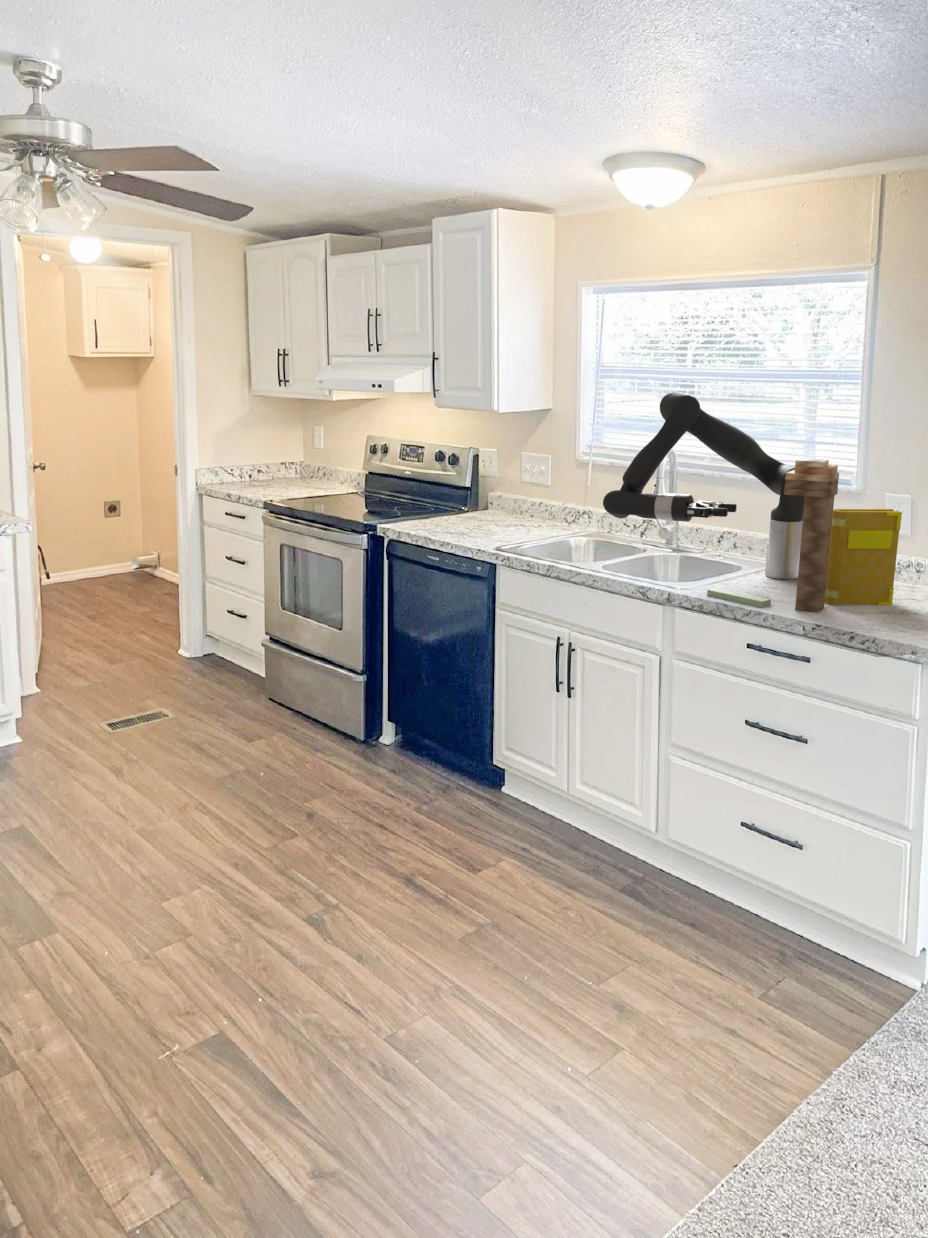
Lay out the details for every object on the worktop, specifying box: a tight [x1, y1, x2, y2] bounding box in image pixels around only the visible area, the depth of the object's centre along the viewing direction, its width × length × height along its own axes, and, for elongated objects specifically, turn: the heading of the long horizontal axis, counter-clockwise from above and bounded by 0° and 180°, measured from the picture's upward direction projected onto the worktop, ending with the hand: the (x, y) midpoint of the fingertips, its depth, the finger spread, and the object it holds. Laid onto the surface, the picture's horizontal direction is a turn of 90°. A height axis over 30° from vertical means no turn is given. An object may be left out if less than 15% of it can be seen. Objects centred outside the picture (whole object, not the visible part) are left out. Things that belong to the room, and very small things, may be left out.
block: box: [706, 587, 772, 608], centre depth 283 cm, size 18×4×2 cm, turn 38°
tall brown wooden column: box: [784, 458, 840, 614], centre depth 270 cm, size 12×9×39 cm
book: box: [825, 508, 903, 607], centre depth 278 cm, size 17×7×25 cm, turn 92°
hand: (731, 510), depth 283 cm, fingers open, 8 cm apart
